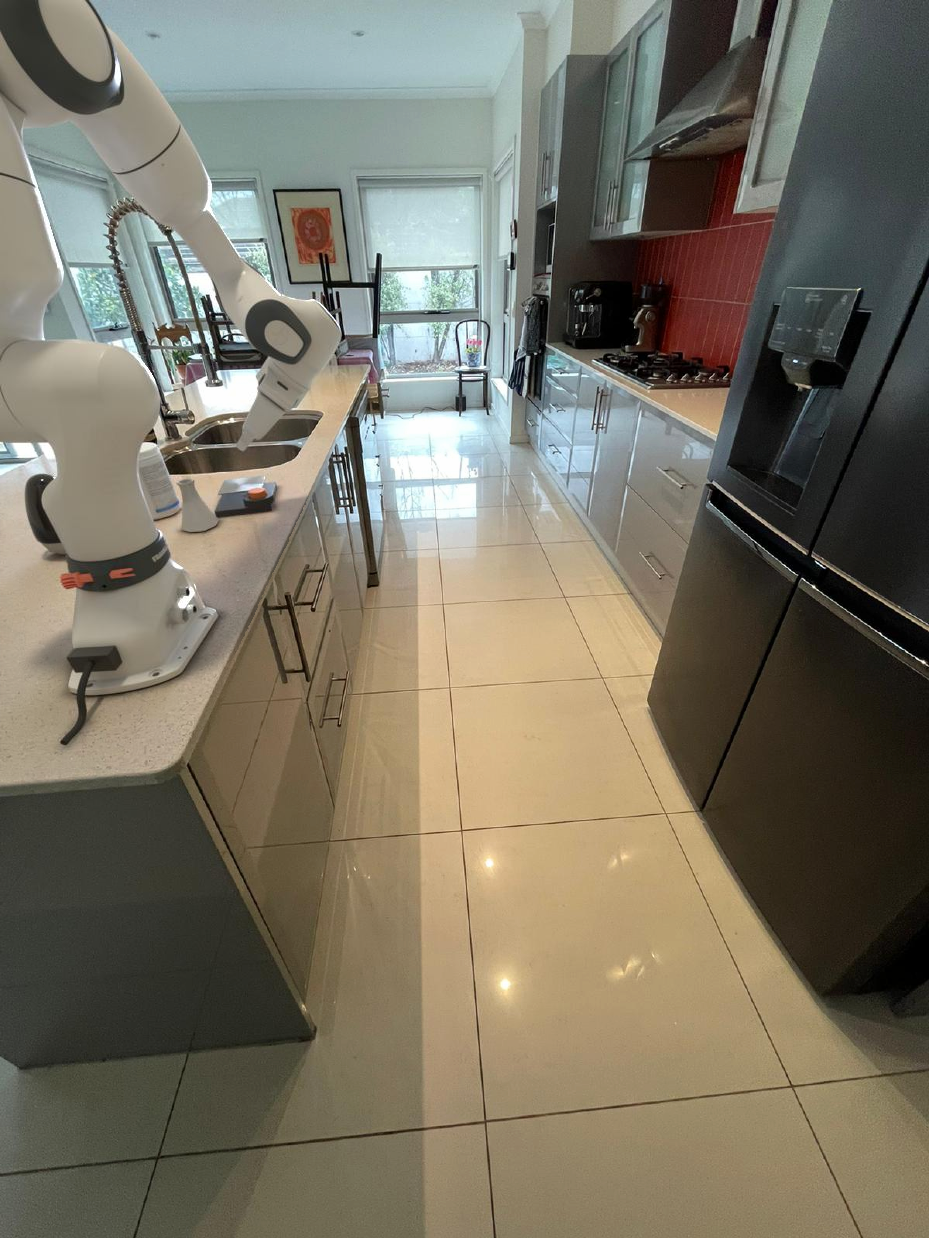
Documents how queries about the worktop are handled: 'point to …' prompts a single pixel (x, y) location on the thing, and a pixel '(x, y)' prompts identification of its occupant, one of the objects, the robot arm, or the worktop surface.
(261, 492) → the button
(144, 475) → the supplement tub
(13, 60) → the robot arm
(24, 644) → the worktop surface
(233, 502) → the scale
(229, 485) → the weighing plate
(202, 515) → the flask
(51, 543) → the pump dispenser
